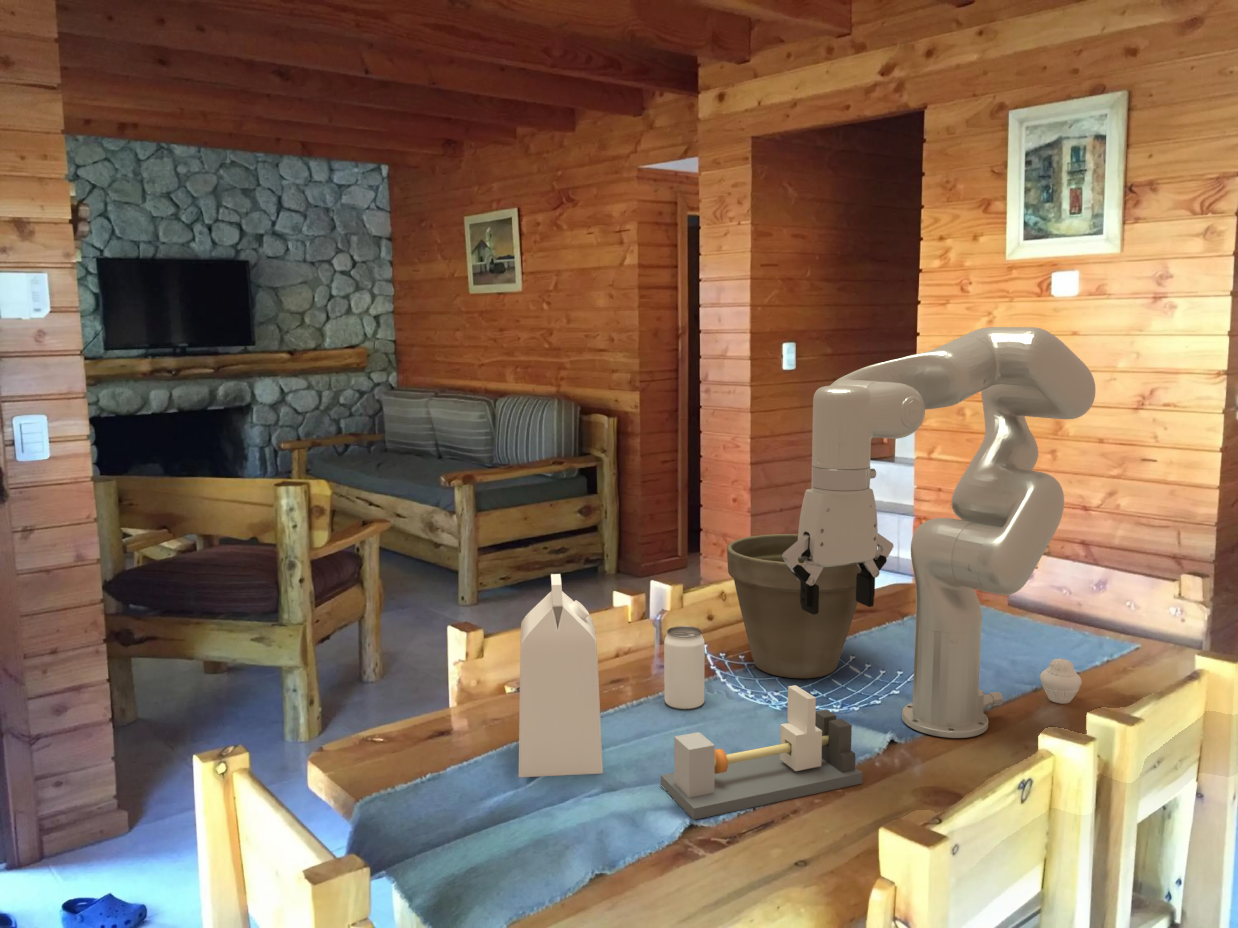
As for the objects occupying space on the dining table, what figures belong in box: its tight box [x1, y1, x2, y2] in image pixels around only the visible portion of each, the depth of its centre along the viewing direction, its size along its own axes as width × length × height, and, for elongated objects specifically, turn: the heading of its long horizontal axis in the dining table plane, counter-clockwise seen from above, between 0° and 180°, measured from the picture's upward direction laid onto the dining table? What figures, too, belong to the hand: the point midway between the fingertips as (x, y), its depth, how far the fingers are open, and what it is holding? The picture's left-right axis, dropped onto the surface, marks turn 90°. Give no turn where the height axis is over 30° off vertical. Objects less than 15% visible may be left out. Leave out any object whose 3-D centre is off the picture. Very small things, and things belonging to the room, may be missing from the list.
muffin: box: [1039, 658, 1082, 704], centre depth 163 cm, size 6×6×7 cm
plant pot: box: [726, 533, 861, 679], centre depth 179 cm, size 25×25×22 cm
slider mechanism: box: [660, 708, 863, 821], centre depth 134 cm, size 25×10×8 cm, turn 112°
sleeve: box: [779, 685, 822, 771], centre depth 136 cm, size 4×5×10 cm
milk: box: [518, 573, 604, 778], centre depth 142 cm, size 12×12×26 cm
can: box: [663, 625, 706, 711], centre depth 163 cm, size 6×6×12 cm
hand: (837, 607), depth 136 cm, fingers open, 8 cm apart
